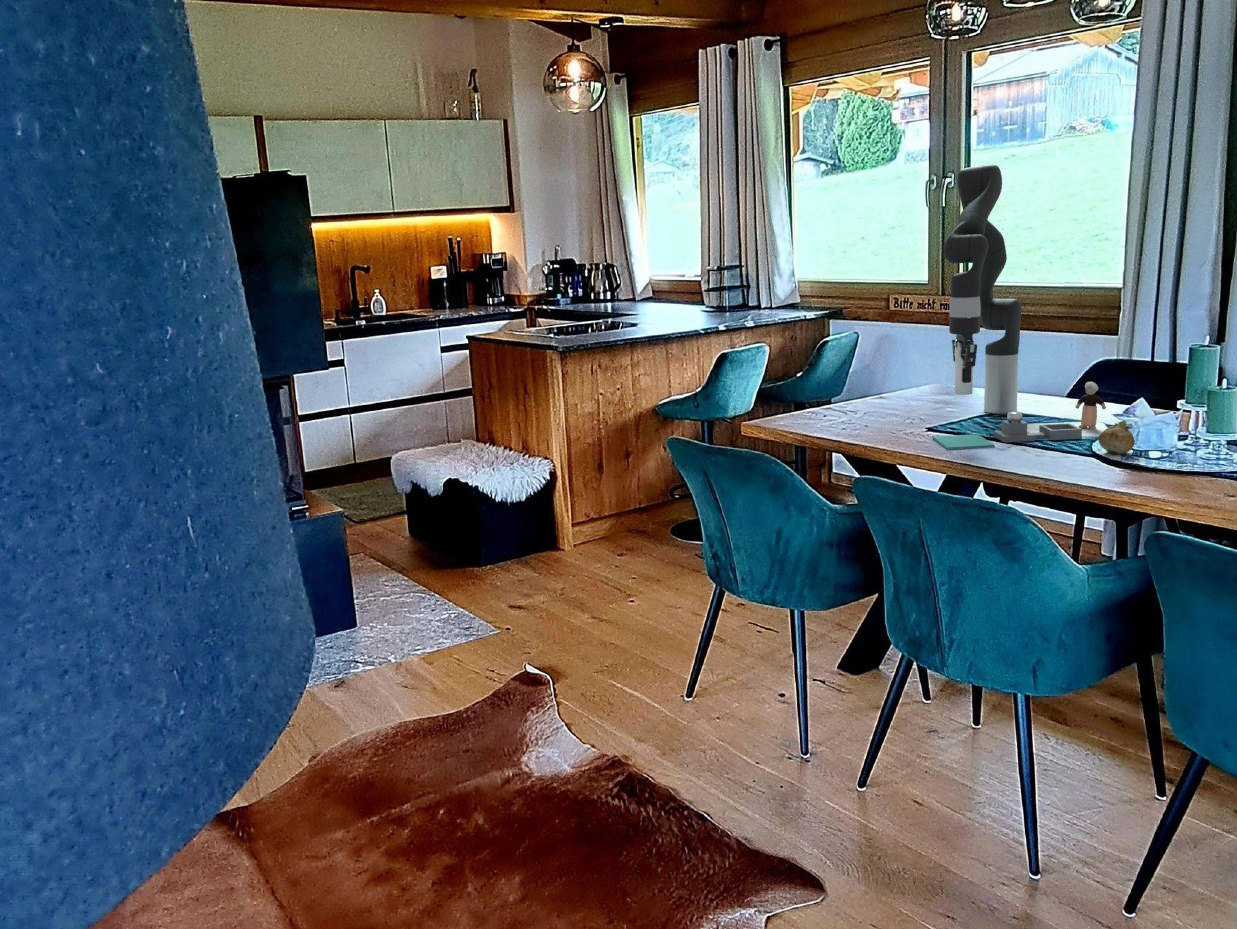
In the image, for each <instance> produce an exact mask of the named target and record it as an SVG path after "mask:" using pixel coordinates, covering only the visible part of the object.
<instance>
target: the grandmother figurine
mask: <svg viewBox="0 0 1237 929" xmlns="http://www.w3.org/2000/svg"><path fill="white" fill-rule="evenodd" d="M1084 388H1085V393H1086V394H1083V395H1082V396H1081V397H1080V398H1079V399H1078V400H1077V402H1076V405H1075V409H1080V407H1081V405H1082V404H1083V405H1082V411H1081V418H1080V424H1079V425H1078V427H1079V428H1081V429H1088V430H1096V429H1097V427H1096V425H1097V420H1098V407H1097V405H1099V406H1100V407H1101V409H1102V410H1106V409H1107V406H1106V404H1105V400H1104V399H1103V398H1101V397H1100V396H1099V395H1096V392H1097V391H1098V390H1099V386H1098V384H1096V382H1093V381H1087V382H1086V383H1085V385H1084Z"/></svg>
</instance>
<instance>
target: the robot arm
mask: <svg viewBox="0 0 1237 929" xmlns="http://www.w3.org/2000/svg"><path fill="white" fill-rule="evenodd" d="M956 179H957V180H956V182H957V192H958V194H959V200H960V203H961V207H962V212H961V213H960V215H959V218H958V221H957V225H956V227H955V228H954V230H952V231H951V233H950V234H949V235H948V236H947V238H946V240H945V243H944V246H943V256H944V258H945V260H946V261H947V262H948V263H951V264H972V265H971V267H970V268H969V270H967V271H963V272H958V273H955V274H953V275H951V278H950V302H949V325H948V326H949V330H948V332H949V334H951V335H956V337H955V338H953V339H952V340H951V346H952V358H953V359H952V360H953V362H954V363H955V347H958V348H959V358H960V359H961V360H962V382H963V383H970V382H971V373H972V368H973V369H974V367H975V366H976V360H977V353H978V351H977V350H978V344H977V343H975V341H974V337H973V335H975V334H979V333H980V332H981V325H982V328H983V329H985V330H987V331H1004V336H1002V337H1001V338H1000V339H998V340H995V341H991V342H988V343H987V344H986V345H985V351H984V352H985V354H984V396H983V398H984V402H983V403H984V404H983V411H984V412H986V413H990V414H1007V413H1008V412H1018V387H1019V386H1018V385H1019V380H1018V379H1019V351H1020V350H1019V349H1020V348H1019V347H1020V336H1021V326H1022V325H1021V322H1022V305H1021V302H1020V300H1019V299H1017V298H995V297H994V292H993V290H994V287H995V283H996V282H997V280H998V278H999V276H1000V275H1001V274H1002V272H1003V270H1004V268H1005V266H1006V263H1007V260H1008V259H1007V258H1008V255H1007V249H1006V244H1005V242H1006V241H1005V238H1004V236H1003V234H1002V233H1001V231H1000V230H999V229H998V228H997V227H996V226H995V225H994V224H993V223H992V222H990V220H988V219H989V217H990V215H991V213H992V211H993V209H994V207H995V205H996V203H997V202H998V200H999V198H1000V195H1001V193H1002V189H1003V177H1002V171H1001V169H1000V166H998V165H997V164H993V163H992V164H984V165H983V164H982V165H977V166H970V167H966V168H962V169H960V170H959V172H958V173H957V178H956ZM963 354H965V356H964V355H963ZM968 359H969V362H968Z"/></svg>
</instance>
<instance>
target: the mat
mask: <svg viewBox="0 0 1237 929" xmlns="http://www.w3.org/2000/svg"><path fill="white" fill-rule="evenodd" d="M932 440H933V441H935V442H937V443H938V444H939V445H940V446H941V447H943V448H944V449H945V450H948V451H949V450H951V451H953V450H966V449H967V450H969V449H971V450H972V449H986V448H995V446H996V445H995V444H994V443H992V442H991V441H989V440H988V439H986V438H984V437H983V436H981V435H980V434H977V433H976V434H958V435H957V434H956V435H937V436H935V435H934V436H932Z"/></svg>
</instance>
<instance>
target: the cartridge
mask: <svg viewBox="0 0 1237 929" xmlns="http://www.w3.org/2000/svg"><path fill="white" fill-rule="evenodd" d="M963 355H964V356H965V354H963ZM968 362H969V359H968ZM973 374H974V367H973V368H972V373H971V382H970V383H963V382H962V360H961V359H960V358H959V348H958V347H955V362H954V394H955V395H959V396H968V395H972V394H973V391H974V390H973V389H974V388H973V387H974V386H973V379H974V375H973Z"/></svg>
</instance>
